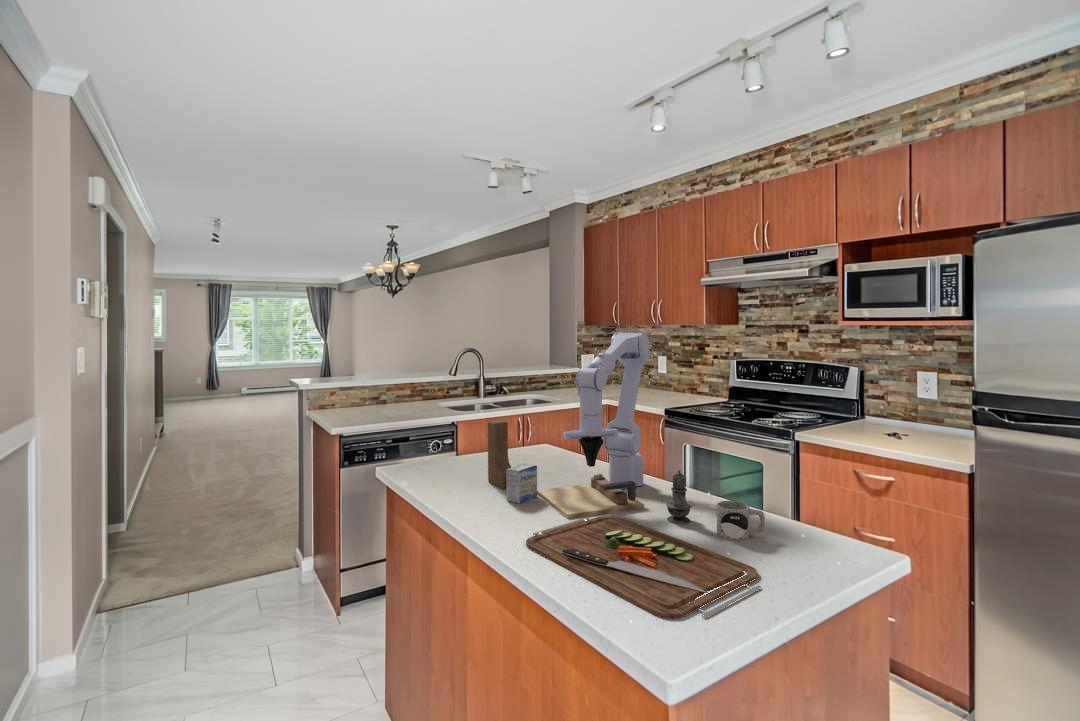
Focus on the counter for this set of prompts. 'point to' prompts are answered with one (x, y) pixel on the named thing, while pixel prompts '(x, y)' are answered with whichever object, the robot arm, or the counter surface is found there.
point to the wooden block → (498, 452)
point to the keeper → (620, 485)
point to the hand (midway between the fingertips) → (590, 465)
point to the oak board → (583, 501)
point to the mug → (736, 520)
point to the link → (614, 495)
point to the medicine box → (521, 482)
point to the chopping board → (643, 564)
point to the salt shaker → (678, 501)
